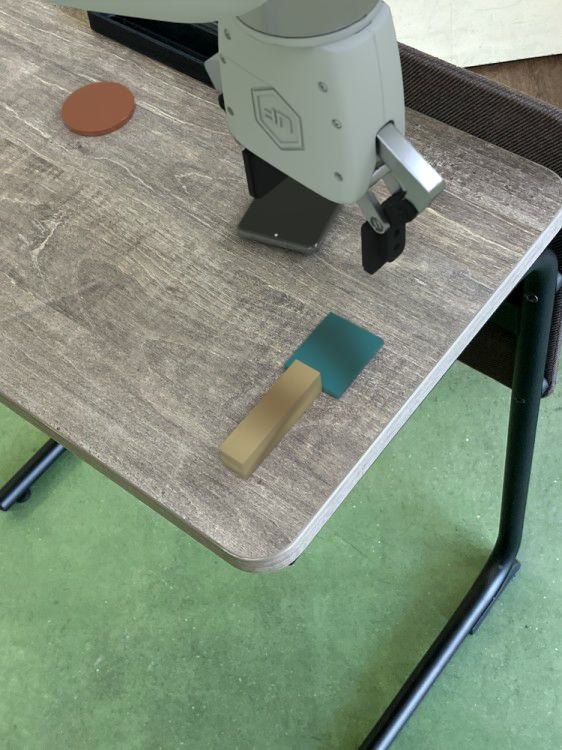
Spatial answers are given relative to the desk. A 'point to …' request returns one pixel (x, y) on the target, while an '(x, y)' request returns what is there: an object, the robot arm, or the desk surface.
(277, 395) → the spatula
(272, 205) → the smartphone
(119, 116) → the coaster
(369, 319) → the desk surface
